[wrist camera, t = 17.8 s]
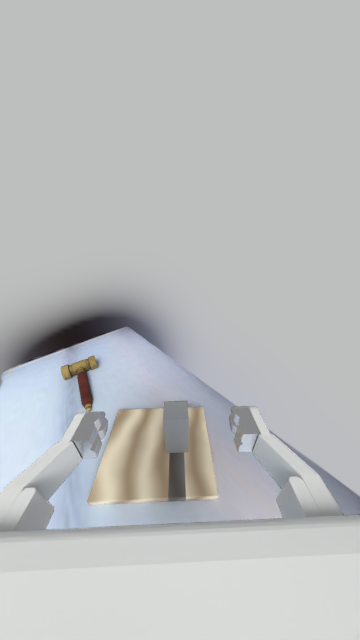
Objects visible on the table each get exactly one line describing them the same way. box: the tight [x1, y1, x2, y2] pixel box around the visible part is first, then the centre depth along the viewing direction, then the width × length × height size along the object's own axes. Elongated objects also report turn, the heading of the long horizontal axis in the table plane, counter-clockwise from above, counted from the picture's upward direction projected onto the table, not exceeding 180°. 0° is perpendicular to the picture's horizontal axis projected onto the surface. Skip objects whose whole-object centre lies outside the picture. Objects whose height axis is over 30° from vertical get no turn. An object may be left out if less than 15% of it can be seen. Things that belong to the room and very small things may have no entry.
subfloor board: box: [87, 407, 218, 505], centre depth 34 cm, size 22×16×2 cm
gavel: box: [61, 356, 98, 412], centre depth 48 cm, size 21×5×10 cm
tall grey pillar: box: [163, 401, 189, 453], centre depth 31 cm, size 4×4×11 cm
